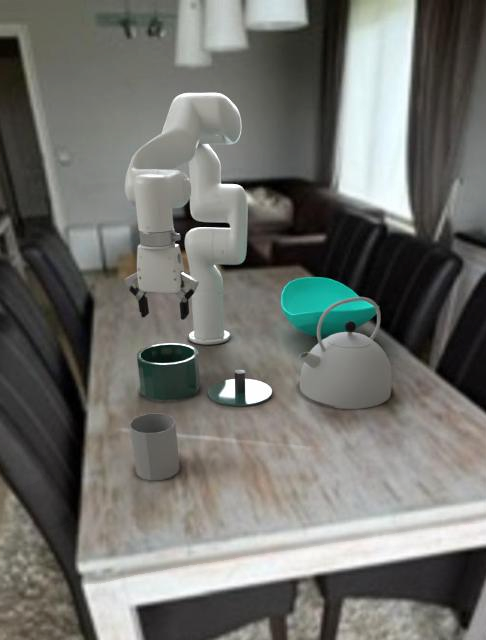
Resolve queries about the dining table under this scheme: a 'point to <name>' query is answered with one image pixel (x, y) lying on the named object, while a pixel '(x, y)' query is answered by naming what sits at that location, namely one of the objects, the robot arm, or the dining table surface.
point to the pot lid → (240, 391)
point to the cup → (155, 446)
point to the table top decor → (322, 306)
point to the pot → (168, 371)
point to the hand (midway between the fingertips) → (164, 316)
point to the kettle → (347, 367)
